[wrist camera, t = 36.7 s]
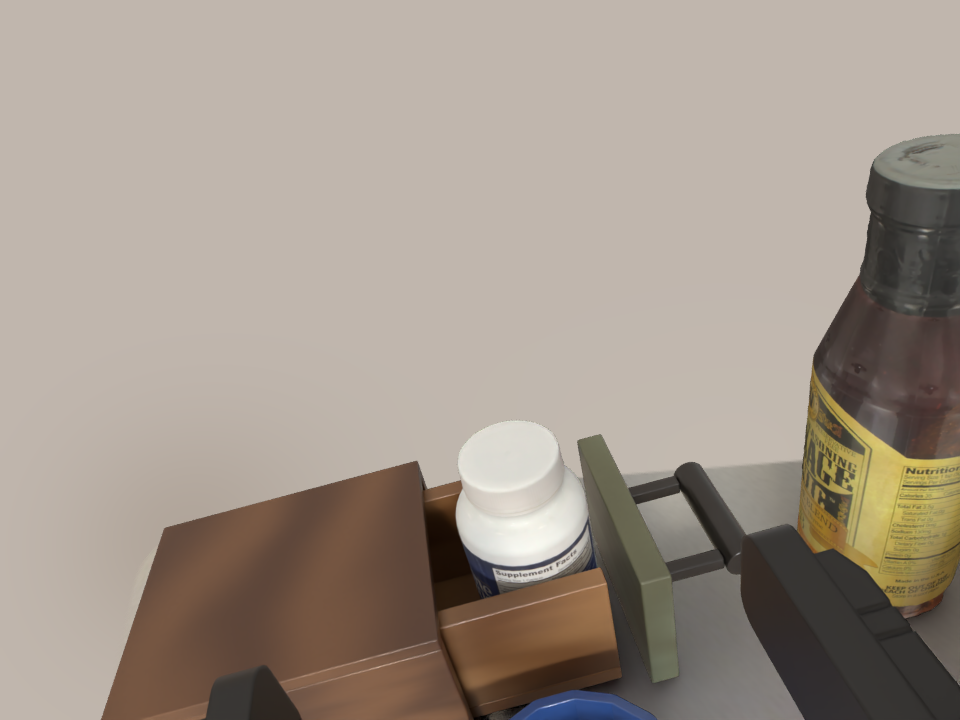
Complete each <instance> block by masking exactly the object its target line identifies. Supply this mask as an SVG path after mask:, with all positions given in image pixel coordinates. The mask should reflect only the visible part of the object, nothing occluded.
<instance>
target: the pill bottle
mask: <svg viewBox="0 0 960 720" xmlns="http://www.w3.org/2000/svg"><path fill="white" fill-rule="evenodd" d="M457 464H458V471H459V475H460V479H461V482H462V487H463V489H462V491H461V493H460V495H459V498H458V501H457V506H456V523H457V528H458V531H459V535H460V538H461V541H462V544H463V547H464V550H465V553H466V556H467V559H468V562H469V565H470V569H471V571H472V574H473V577H474V580H475V583H476V587H477V590H478V592H479V595H480V598H481V599H485V598H488V597H492V596H496V595H499V594H503V593H507V592H511V591H514V590H518V589H522V588H525V587H529V586H533V585H536V584H540V583H544V582H547V581H551V580H555V579H559V578H562V577H566V576H570V575H573V574H577V573H581V572H584V571H588V570H592V569H595V568H598V566H597V560H596V554H595V548H594V542H593V537H592V530H591V525H590V518H589V511H588V505H587V500H586V495H585V491H584V489H583V486H582V484H581V482H580V480H579V479H578V477H577V476H576V475H575V474H574V473H573V472H572V471H571V470H570V469H569V468H568V467H567V466H565V465H564V462H563V459H562V456H561V452H560V447H559V444H558V441H557V439H556V437H555V435H554V434H553V433H552V432H551V431H550V430H549V429H547V428H546V427H544V426H542V425H540V424H538V423H534V422H530V421H522V420H514V421H513V420H512V421H505V422H500V423H496V424H493V425H491V426H488V427H486V428H484V429H482V430H480V431H478V432H477V433H475V434H474V435H473V436H472V437H470V438H469V439H468V440H467V441H466V442H465V444H464V445H463V447H462V448H461V451H460V453H459V456H458V461H457Z"/></svg>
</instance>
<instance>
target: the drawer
mask: <svg viewBox="0 0 960 720" xmlns="http://www.w3.org/2000/svg"><path fill="white" fill-rule="evenodd" d="M577 443H578V449H579V455H580V461H581V467H582V473H583V479H584V485H585V491H586V497H587V503H588V509H589V515H590V521H591V527H592V532H593V536H594V539H595V541H596V544H597V546H598V549H599V551H600V554H601V556H602V559H603V561H604V564H605V566H606V569H607V571H608V574H609V576H610V579H611V581H612V584H613V586H614V589H615V591H616V594H617V596H618V599H619V601H620V604H621V606H622V609H623V611H624V614H625V616H626V619H627V621H628V624H629V626H630V629H631V631H632V634H633V636H634V639H635V641H636V644H637V646H638V649H639V651H640V654H641V656H642V659H643V661H644V664H645V666H646V669H647V671H648V674H649V677H650V679H651V681H652V682H653V683H656V682H660V681H663V680H667V679H671V678H674V677H678V676H679V668H678V655H677V642H676V629H675V617H674V604H673V591H672V582H674V581H678V580H682V579H685V578H689V577H693V576H697V575H700V574H704V573H708V572H711V571H715V570H719V569H722V568H724V565H725V567H726V568H727V570H728V571H729V572H730V573H732V574H736V575H739V574H741V539H742V537H743V536H744V535H746V534H745V532H744V531H743V529H742V528H741V526H740V525H739V523H738V521H737V520H736V518H735V517H734V515H733V514H732V512H731V511H730V509H729V508H728V506H727V505H726V503H725V502H724V500H723V499H722V497H721V496H720V494H719V493H718V491H717V490H716V488H715V487H714V485H713V483H712V482H711V480H710V479H709V477H708V476H707V474H706V473H705V471H704V470H703V468H702V467H701V466H700V465H699V464H698V463H695V462H688V463H685V464H683V465H681V466H680V467H678V468H677V470H676V471H675V473H674V476H672V477H668V478H664V479H661V480H657V481H653V482H649V483H646V484H642V485H638V486H635V487H631V488H628V487H627V485H626V483H625V481H624V479H623V477H622V475H621V473H620V471H619V469H618V467H617V465H616V463H615V461H614V459H613V457H612V455H611V454H610V451H609V449H608V447H607V445H606V443H605V441H604V439H603V437H602V435H601V434H599V435H595V436H592V437H588V438H584V439H580V440H578V442H577ZM462 489H463V487H462V482H461V480H460V481H456V482H453V483H449V484H445V485H441V486H438V487H434V488H430V489H426V490H423V495H424V504H425V512H426V520H427V529H428V537H429V545H430V554H431V562H432V570H433V579H434V587H435V595H436V604H437V612H438V620H439V629H440V637H441V639H442V641H443V644H444V646H445V649H446V651H447V654H448V656H449V659H450V661H451V664H452V666H453V669H454V671H455V674H456V676H457V679H458V681H459V684H460V686H461V689H462V691H463V694H464V696H465V699H466V701H467V704H468V706H469V709H470V711H471V714H472V716H473V718H475V717H479V716H483V715H486V714H490V713H494V712H497V711H501V710H504V709H508V708H512V707H515V706H519V705H523V704H526V703H530V702H533V701H535V700H537V699H541V698H544V697H548V696H551V695H555V694H559V693H562V692H566V691H570V690H577V689H581V688H585V687H588V686H592V685H596V684H599V683H603V682H607V681H610V680H614V679H618V678H621V677H622V673H621V667H620V660H619V654H618V648H617V642H616V636H615V629H614V623H613V617H612V611H611V605H610V598H609V592H608V586H607V582H606V579H605V576H604V574H603V571H602V569H601V568H600V567H599V568H595V569H592V570H588V571H584V572H581V573H577V574H573V575H570V576H566V577H562V578H559V579H555V580H551V581H547V582H544V583H540V584H536V585H533V586H529V587H525V588H522V589H518V590H514V591H511V592H507V593H503V594H499V595H496V596H492V597H488V598H485V599H481V598H480V595H479V592H478V590H477V587H476V583H475V580H474V577H473V574H472V571H471V569H470V565H469V562H468V559H467V556H466V553H465V550H464V547H463V544H462V541H461V538H460V535H459V531H458V528H457V523H456V506H457V501H458V498H459V495H460V493H461V491H462ZM680 490H681V492H682V494H683V495H684V497H685V499H686V501H687V502H688V504H689V506H690V507H691V509H692V511H693V512H694V514H695V516H696V517H697V519H698V521H699V523H700V524H701V526H702V528H703V529H704V531H705V533H706V534H707V536H708V538H709V539H710V541H711V543H712V545H713V546H714V548H715V550H711V551H708V552H704V553H700V554H696V555H693V556H689V557H685V558H682V559H678V560H674V561H671V562H667V563H665V562H664V560H663V558H662V556H661V554H660V552H659V550H658V548H657V546H656V544H655V542H654V540H653V538H652V536H651V534H650V532H649V530H648V528H647V526H646V524H645V522H644V520H643V518H642V516H641V514H640V512H639V510H638V508H637V506H636V504H640V503H643V502H647V501H651V500H654V499H658V498H662V497H666V496H669V495H673V494H677V493H680Z"/></svg>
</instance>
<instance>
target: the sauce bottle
mask: <svg viewBox="0 0 960 720" xmlns="http://www.w3.org/2000/svg"><path fill="white" fill-rule="evenodd" d="M866 199H867V204H868V206H869V209H870V211H871V215H870V221H869V225H868V230H867V243H866V249H865V256H864V261H863V263H862V265H861V268H860V275H859V276H858V278H857V280H856V282H855V283H854V285H853V286H852V288H851V290H850V291H849V293H848V295H847V297H846V298H845V301H844V302H843V304H842V306H841V307H840V309H839V311H838V313H837V314H836V316H835V318H834V320H833V322H832V323H831V325H830V327H829V328H828V330H827V332H826V334H825V336H824V337H823V339H822V341H821V343H820V345H819V346H818V348H817V350H816V352H815V354H814V357H813V365H812V376H811V381H810V395H809V406H808V418H807V425H806V436H805V446H804V457H803V465H802V469H803V471H802V481H801V494H800V505H799V516H798V527H797V532H798V533H799V534H800V535H801V537H802V538H803V540H804V541H805V542H806V544H807V545H808V546H809V548H810V549H811V550H812V552H813V553H818V552H822V551H825V550H829V549H833V548H834V549H835V550H837V551H838V552H840V553H841V554H843V555H844V556H845V557H847V558H848V559H850V560H851V561H853V562H854V563H856V564H857V565H859V566H860V567H862V568H863V569H865V570H866V571H867V572H868V573H869V574H870V576H871V577H872V578H873V579H874V581H875V582H876V583H877V584H878V586H879V587H880V588H881V589H882V590H883V592H884V593H885V594H886V595H887V597H888V598H889V599H890V602H891V604H892V606H893V607H894V606H895V607H896V608H897V609H898V610H899V612H900V613H901V614H902V615H903V617H904V618H908V617H911V616H917V615H920V614H921V613H924V612H926V611H930V610H932V609H933V608H934V607H935V606H937V605H938V604H939V603H940V602H941V601H942V598H943V593H944V591H945V589H946V588H947V587H948V586H949V584H950V583H951V581H952V579H953V577H954V575H955V572H956V569H957V566H958V563H959V559H960V134H948V135H936V136H927V137H920V138H915V139H912V140H909V141H903V142H900V143H899V144H896V145H894V146H891V147H889V148H888V149H886V150H885V151H883V152H882V153H881V154H880V155H879V156H877V157H876V158H875V159H874V161H873V164H872V167H871V169H870V177H869V182H868V185H867V191H866Z"/></svg>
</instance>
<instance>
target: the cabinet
mask: <svg viewBox="0 0 960 720" xmlns="http://www.w3.org/2000/svg"><path fill="white" fill-rule="evenodd" d="M426 489H427V487H426V484H425V481H424V478H423V476H422V473H421V470H420V467H419V464H418V462H417V461H414V462H410V463H406V464H403V465H399V466H395V467H391V468H388V469H384V470H380V471H376V472H373V473H369V474H365V475H361V476H357V477H354V478H350V479H346V480H342V481H339V482H335V483H331V484H327V485H324V486H320V487H316V488H312V489H309V490H305V491H301V492H297V493H294V494H290V495H286V496H282V497H279V498H275V499H271V500H268V501H264V502H260V503H256V504H252V505H249V506H245V507H241V508H238V509H234V510H230V511H227V512H222V513H219V514H215V515H211V516H207V517H204V518H200V519H196V520H192V521H189V522H185V523H182V524H177V525H174V526H170V527H166V528H165V529H164V531H163V534H162V537H161V540H160V543H159V546H158V549H157V552H156V555H155V558H154V561H153V564H152V567H151V570H150V573H149V576H148V579H147V582H146V585H145V588H144V591H143V594H142V597H141V600H140V603H139V606H138V609H137V612H136V615H135V618H134V622H133V625H132V628H131V631H130V634H129V637H128V640H127V643H126V646H125V649H124V652H123V655H122V658H121V661H120V664H119V667H118V670H117V673H116V676H115V679H114V682H113V685H112V688H111V691H110V694H109V697H108V700H107V703H106V706H105V709H104V712H103V716H102V718H101V720H200V719H204V718H206V713H207V708H208V703H209V698H210V693H211V689H212V686H213V684H214V682H215V680H216V679H217V678H219V677H221V676H224V675H228V674H232V673H235V672H239V671H243V670H246V669H250V668H254V667H257V666H261V665H266V666H267V667H268V668H269V669H270V670H271V672H272V673H273V674H274V676H275V677H276V679H277V680H278V682H279V683H280V685H281V686H282V688H283V689H284V691H285V692H286V694H287V695H288V697H289V698H290V699H291V701H292V702H293V704H294V705H295V707H296V708H297V710H298V712H299V714H300V716H301V719H302V720H480V719H479V717H475V718H473V716H472V714H471V711H470V709H469V706H468V704H467V701H466V699H465V696H464V694H463V691H462V689H461V686H460V684H459V681H458V679H457V676H456V674H455V671H454V669H453V666H452V664H451V661H450V659H449V656H448V654H447V651H446V649H445V646H444V644H443V641H442V639H441V637H440V629H439V620H438V612H437V604H436V595H435V587H434V579H433V570H432V562H431V554H430V545H429V537H428V529H427V520H426V512H425V504H424V495H423V490H426Z"/></svg>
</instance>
